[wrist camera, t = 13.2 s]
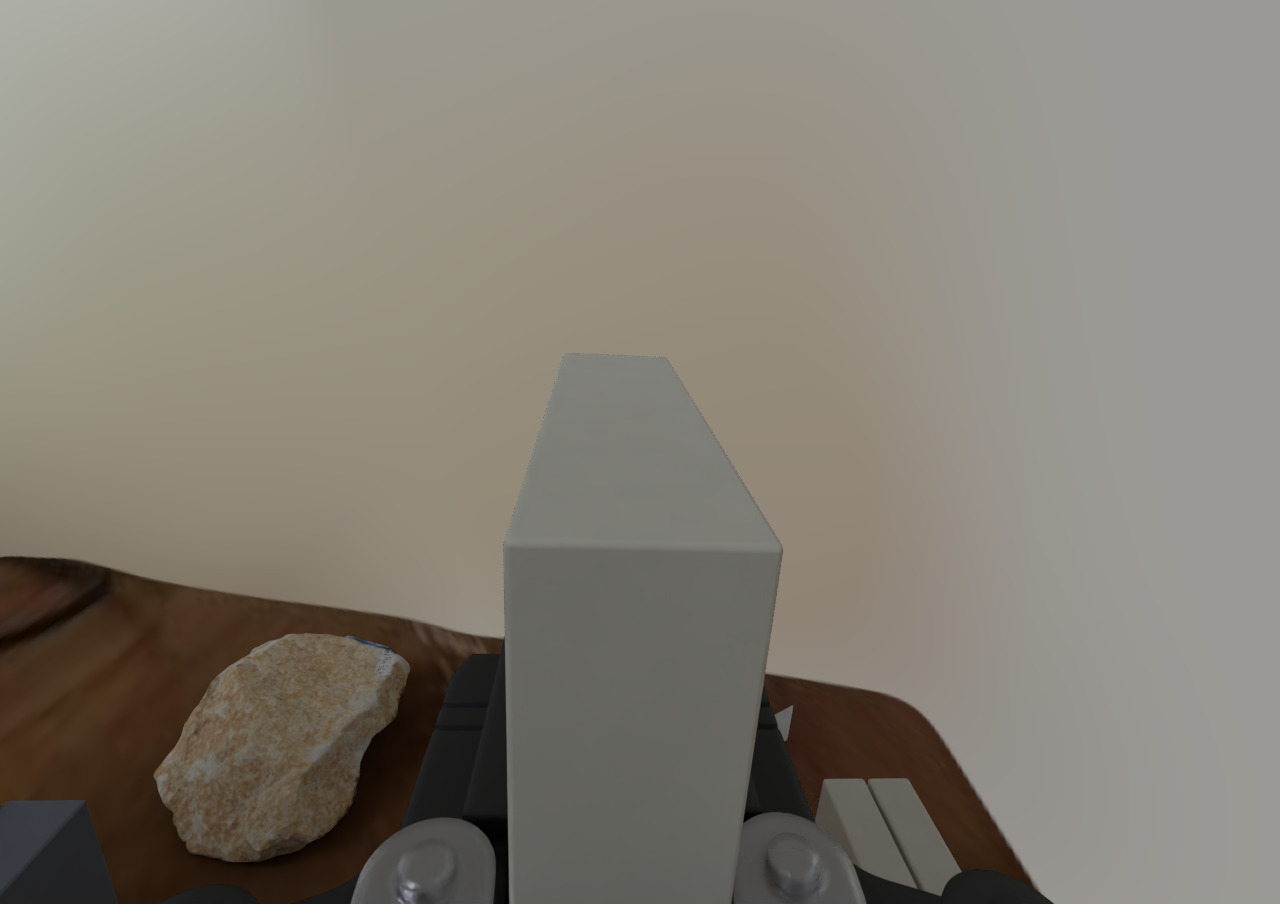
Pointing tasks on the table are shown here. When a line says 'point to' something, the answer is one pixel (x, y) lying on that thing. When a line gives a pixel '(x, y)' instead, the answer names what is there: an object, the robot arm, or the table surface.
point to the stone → (279, 745)
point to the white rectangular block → (631, 645)
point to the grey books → (51, 855)
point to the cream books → (886, 831)
